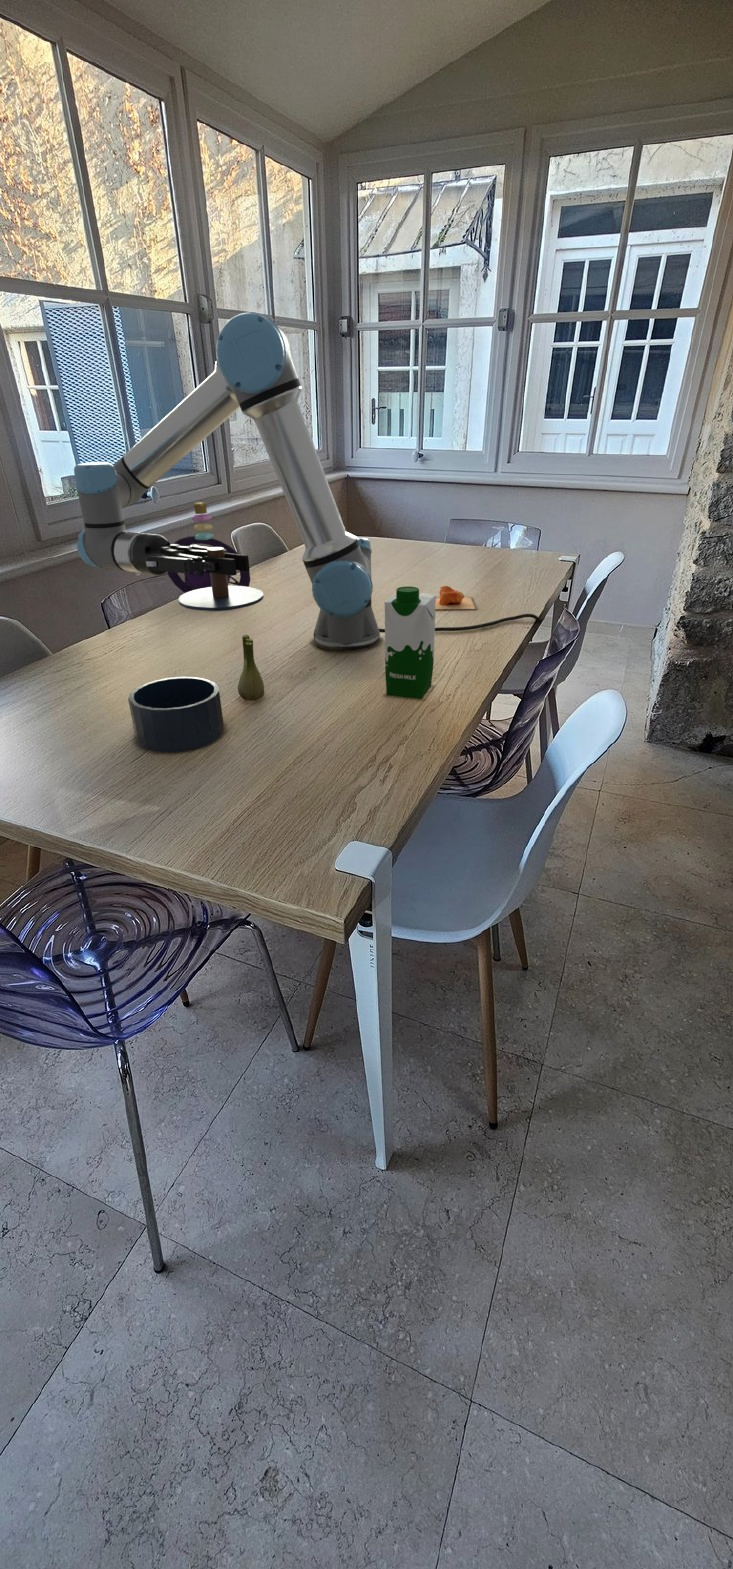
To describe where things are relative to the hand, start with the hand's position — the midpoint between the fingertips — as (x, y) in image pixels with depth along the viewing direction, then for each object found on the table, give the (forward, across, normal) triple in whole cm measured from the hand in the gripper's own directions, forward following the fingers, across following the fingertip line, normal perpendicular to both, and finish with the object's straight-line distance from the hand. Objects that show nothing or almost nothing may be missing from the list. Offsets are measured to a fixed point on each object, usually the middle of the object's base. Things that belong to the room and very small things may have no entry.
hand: (240, 565), depth 124 cm
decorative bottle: (-55, -52, -24) cm, 79 cm away
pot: (+1, +21, -24) cm, 32 cm away
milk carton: (+27, -14, -24) cm, 39 cm away
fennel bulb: (+2, +4, -24) cm, 24 cm away
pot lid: (-5, 0, -7) cm, 9 cm away
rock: (+9, -75, -24) cm, 79 cm away
